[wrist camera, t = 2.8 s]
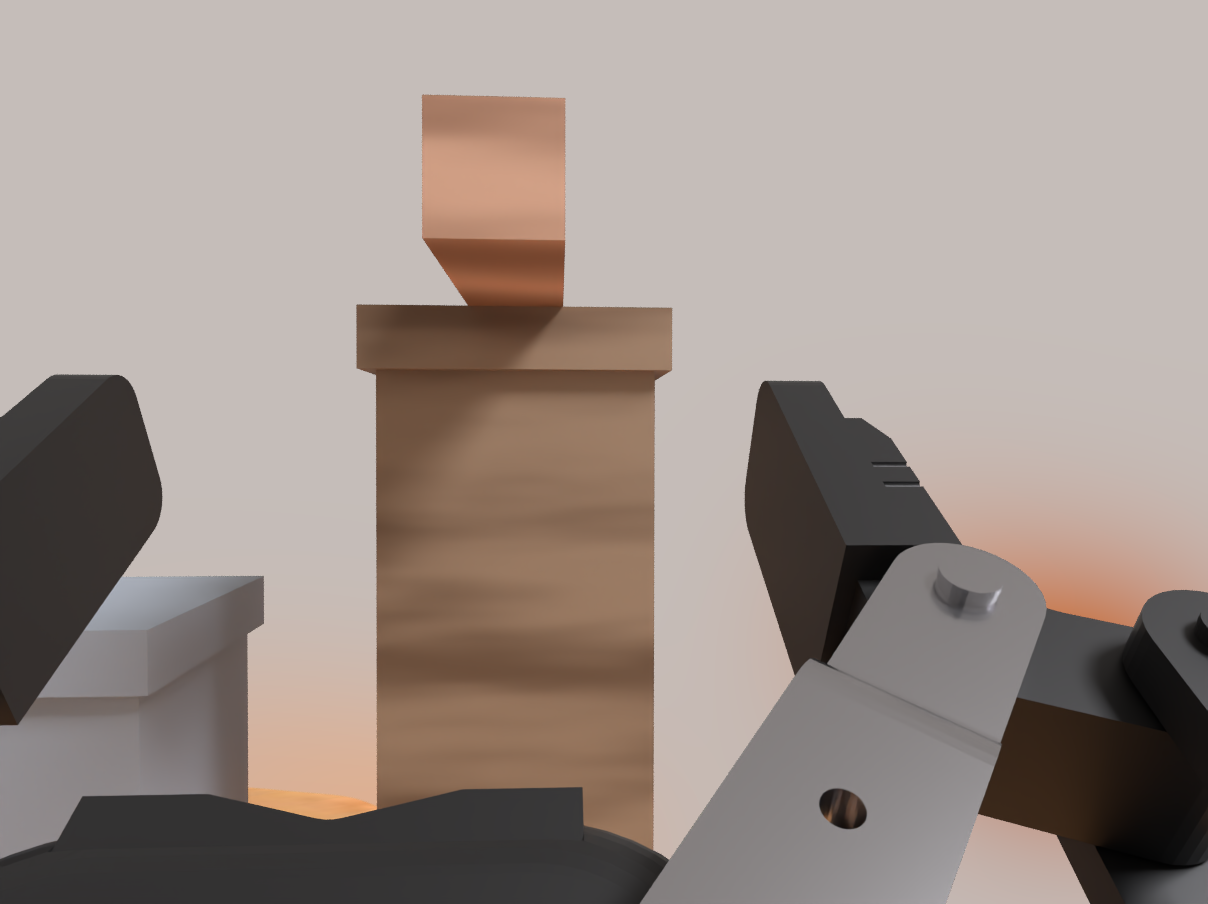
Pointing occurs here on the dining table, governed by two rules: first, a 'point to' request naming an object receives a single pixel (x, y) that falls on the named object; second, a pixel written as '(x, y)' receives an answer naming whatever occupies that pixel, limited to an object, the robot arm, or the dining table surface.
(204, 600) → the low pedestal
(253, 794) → the dining table surface
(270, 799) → the dining table surface
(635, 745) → the tall pedestal
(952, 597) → the robot arm
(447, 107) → the terracotta bar
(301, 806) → the dining table surface
